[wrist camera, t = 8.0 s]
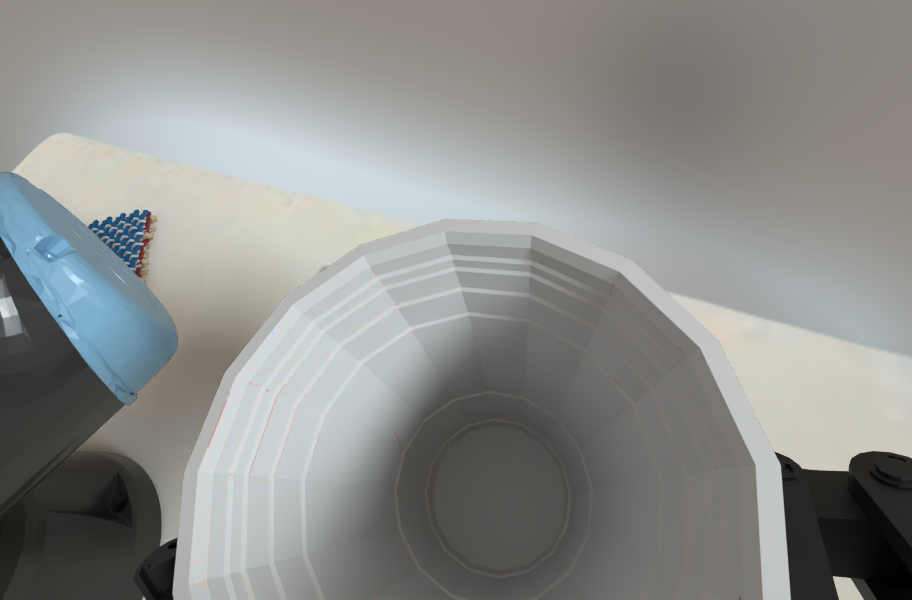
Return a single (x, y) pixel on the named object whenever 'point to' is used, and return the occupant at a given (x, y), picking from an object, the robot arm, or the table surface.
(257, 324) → the table surface
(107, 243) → the woven mat
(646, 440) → the plastic cup
